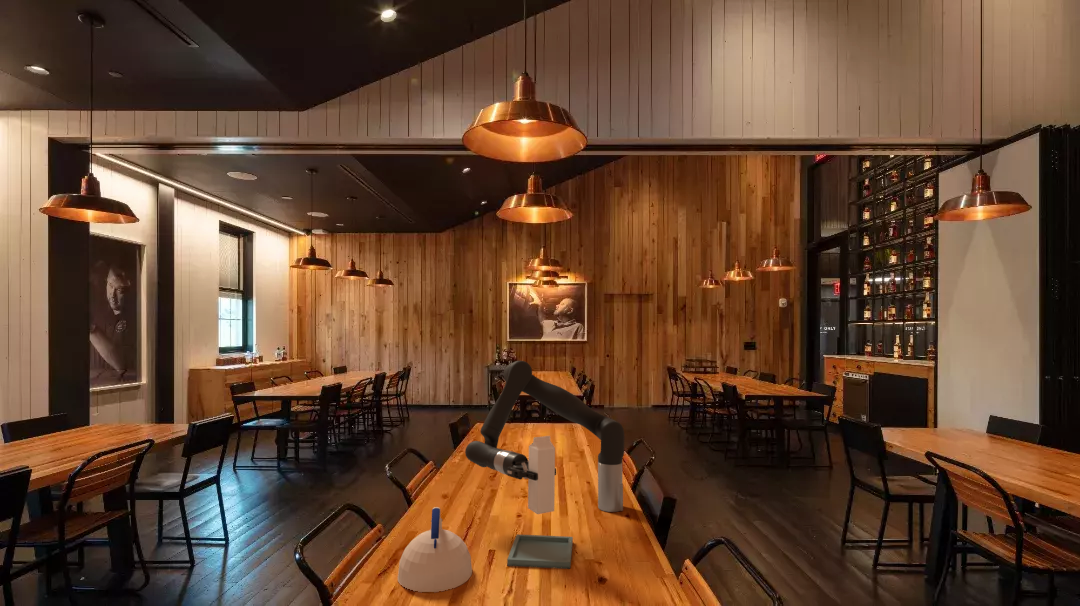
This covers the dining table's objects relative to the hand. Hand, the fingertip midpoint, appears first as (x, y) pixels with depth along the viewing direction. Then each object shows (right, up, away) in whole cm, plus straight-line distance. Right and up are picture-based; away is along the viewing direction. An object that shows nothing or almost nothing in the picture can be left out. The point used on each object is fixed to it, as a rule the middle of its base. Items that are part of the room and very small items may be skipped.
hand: (546, 474), depth 155 cm
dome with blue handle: (-31, -24, -13) cm, 41 cm away
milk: (-2, -11, +1) cm, 11 cm away
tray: (-1, -24, 0) cm, 24 cm away
